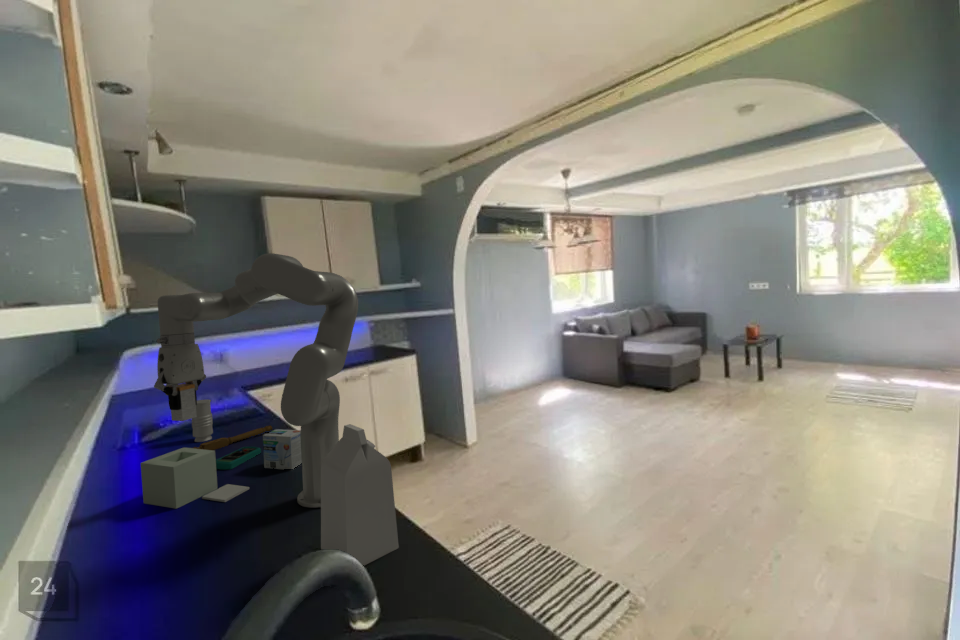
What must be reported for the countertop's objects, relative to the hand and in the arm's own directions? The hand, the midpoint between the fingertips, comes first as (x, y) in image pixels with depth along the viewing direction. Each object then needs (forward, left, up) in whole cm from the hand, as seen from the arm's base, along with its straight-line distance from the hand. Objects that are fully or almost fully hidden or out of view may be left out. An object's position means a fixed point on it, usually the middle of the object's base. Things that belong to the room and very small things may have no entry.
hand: (183, 406), depth 117 cm
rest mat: (-9, -3, -25) cm, 27 cm away
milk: (-61, +10, -25) cm, 66 cm away
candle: (+42, -38, -25) cm, 62 cm away
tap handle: (+26, -38, -25) cm, 53 cm away
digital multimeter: (+9, -24, -25) cm, 36 cm away
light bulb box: (-10, -24, -25) cm, 36 cm away
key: (0, 0, -3) cm, 3 cm away
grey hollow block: (+2, +1, -25) cm, 25 cm away
